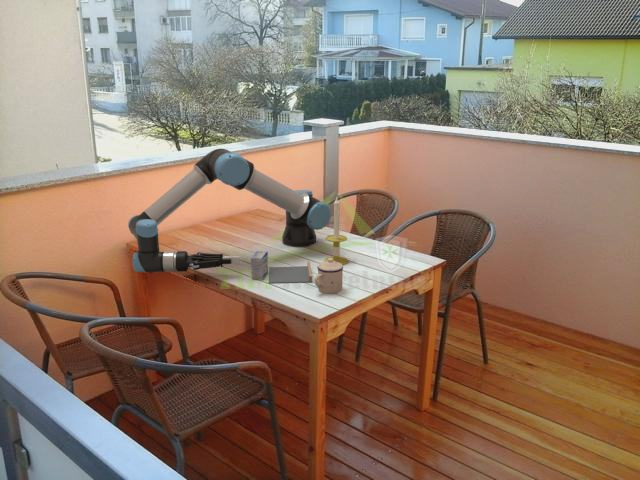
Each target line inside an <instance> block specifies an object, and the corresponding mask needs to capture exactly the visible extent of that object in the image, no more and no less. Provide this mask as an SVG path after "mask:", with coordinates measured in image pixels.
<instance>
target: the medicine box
mask: <svg viewBox="0 0 640 480" xmlns="http://www.w3.org/2000/svg"><path fill="white" fill-rule="evenodd" d="M268 261H269V260H268V251H263V250H258V251H256V252H254V254H253V255H252V256H251V258H250V266H251V267H250V269H251V271H250V272H251V279H252V280H261V281H263V280H264V279H265V278H266V276H267V274H269V264H268V263H269V262H268Z"/></svg>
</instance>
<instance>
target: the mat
mask: <svg viewBox="0 0 640 480" xmlns="http://www.w3.org/2000/svg"><path fill="white" fill-rule="evenodd" d="M311 266H312V265H311V261H309V260H307V265H301V266H300V265H299V266H295V265H294V266H268V284H269V285H270V284H273V285H274V284H300V283H301V284H303V283H304V284H305V283H310V284H311V283H313V274H312V273H313V272H312V267H311Z"/></svg>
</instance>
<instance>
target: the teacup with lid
mask: <svg viewBox="0 0 640 480" xmlns="http://www.w3.org/2000/svg"><path fill="white" fill-rule="evenodd" d="M327 258H328V257H327ZM343 270H344V265H342V264H341V263H339V262H336V261H333V259H332V258H328V261H325V262H324V261H323V262H320V263H318V265H317V275H316V276H315V278H314V285H315V286H316V287H317V289H318V292H320V293H322V294H327V295H333V294H334V295H335V294H339V293H341V292H342V291H343V276H344V275H343V274H344V273H343Z"/></svg>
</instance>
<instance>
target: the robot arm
mask: <svg viewBox="0 0 640 480" xmlns="http://www.w3.org/2000/svg"><path fill="white" fill-rule="evenodd" d="M216 180H219V181H220V182H221V183H222V184H224V185H227V186H230V187H232V188H233V189H236V190H237V191H243V190H244V189H245V190H246V191H248V192H250V193H252V194H253V195H255V196H258V197H260V198H262V199H264V200H265V201H267V202H269V203H270V204H273V205H275V206H277V207H278V208H280V209H282V210H285V228H284V231H283V234H282V243H283V244H284V245H286V246H287V247H296V248H297V247H298V248H302V247H309V246H312V245H315V244H316V243H317V234H316V232H315V231H316V230H317V231H318V230H319V231H320V230H322V229H324V228H326V227H327V225H328V224H329V223H330V220H331V217H332V211H331V208H330V206H329V205H328V204H327V203H326V202H324V201H321V200H320V199H317V198H316V197H314V196H313V195H314V194H313V191H312V190H311V189H310V190H309V189H299V190H293V189H292V188H289V187H288V186H286V185H285V184H283V183H281V182H279V181H277V180H275V179H273V178H272V177H270V176H268V175H266V174H265V173H263V172H261V171H259V170H257V169H256V168H255V164H254V163H252V162H251V161H249V160H248V159H246V158H244V157H243V155H241V154H239V153H235V152H232V151H230V150H228V149H225V148H216V149H213V150H211V151H209V152H208V153H207V154H206V155H204V156H203V157H202V158H201V159H200V160H198V161H197V162H196V163H195V164H193V168H192V170H191V171H189V173H187V174H186V175H185V176H184V177H182V178H181V179H180V180H179V181H178V182H176V184H174V185H173V186H172V187H171V188H169V190H167V191H166V192H165V193H164V194H162V196H160V197H159V198H158V199H156V200H155V201H154V202H153V203H152V204H151V205H150V206H148V207H147V208H146V209H144V211H142V212H141V213H140V214H136V215H132V217H131V218H130V219H129V220H128V223H127V224H128V225H127V226H128V229H129V231H130V233H131V235H133V236H134V238H135V239H136V241H137V243H136V244H137V252H134V253H133V255H132V268H133V270H134V272H137V273H146V274H147V273H161V272H162V273H163V272H164V273H165V272H166V273H167V272H168V273H171V272H179V273H180V272H187V271H189V268H193V271H197V270H203V269H211V268H220V267H221V268H223V267H224V265H241V263H242V259H241V258H242V257H241V255H225V256H224V254H223V253H208V252H207V253H205V252H196V253H194V254H192V255H189V254H188V252H187V250H183V251H182V250H180V251H178V250H177V252H176V251H174V250H173V251H172V250H171V251H170V250H169V251H161V250H160V243H159V242H160V241H159V240H160V239H159V228H158V226H159V225H160V224H162V222H164V221H165V220H166V219H167V218H168V217H170V215H172V214H173V213H175V211H177V210H178V208H179V209H180V207H181V206H182V205H184V204H185V203H186V202H187V201H189V200H190V199H191V198H192V197H193V196H194V195H196V194H197V193H198V191H200V190H201V189H202V188H204V187H205V186H206V185H211V184H212V183H213V182H214V181H216Z"/></svg>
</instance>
